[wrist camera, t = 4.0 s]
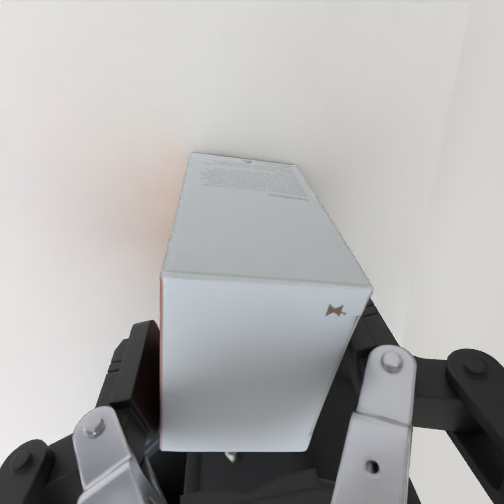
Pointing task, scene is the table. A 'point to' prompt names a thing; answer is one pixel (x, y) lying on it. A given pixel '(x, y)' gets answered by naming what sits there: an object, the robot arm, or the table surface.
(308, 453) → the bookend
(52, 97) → the table surface
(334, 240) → the small box
